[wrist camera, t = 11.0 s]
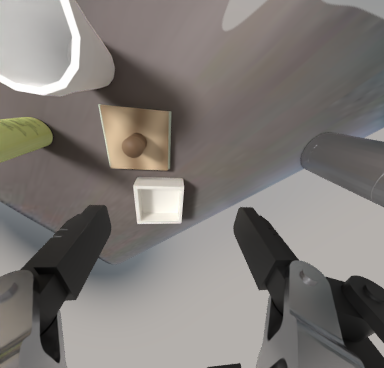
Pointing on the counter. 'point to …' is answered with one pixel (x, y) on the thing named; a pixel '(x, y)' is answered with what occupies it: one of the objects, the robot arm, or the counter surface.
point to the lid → (136, 137)
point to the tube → (22, 136)
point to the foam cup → (51, 48)
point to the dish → (158, 200)
